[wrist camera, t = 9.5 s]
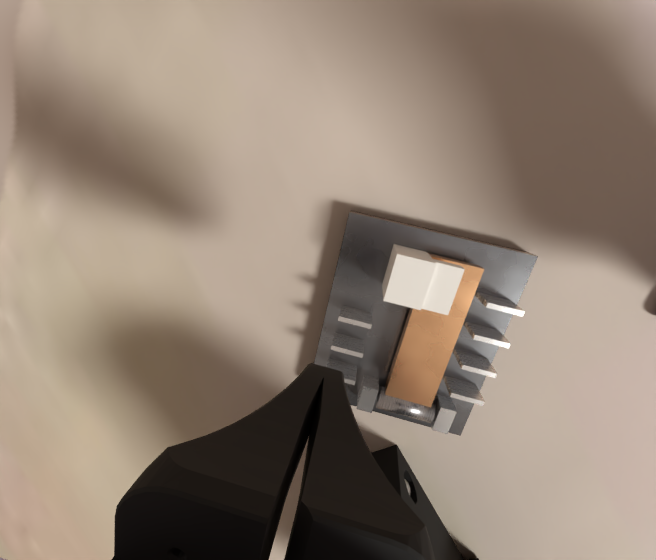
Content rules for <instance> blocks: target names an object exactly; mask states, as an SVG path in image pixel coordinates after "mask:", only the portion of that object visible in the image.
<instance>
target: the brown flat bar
mask: <svg viewBox="0 0 656 560" xmlns="http://www.w3.org/2000/svg"><path fill="white" fill-rule="evenodd" d="M428 254H429V255H430V256H431V257H432V259H436V260H440V261H444V262H448V263H452V264H456V265H460V266H462V267H463V268H464V269H465V270H464V273H463V276H462V278H461V281H460V284H459V287H458V289H457V292H456V295H455V298H454V300H453V303H452V306H451V309H450V311H449V314H448V315H444V314H441V313H437V312H433V311H429V310H425V309H421V310H417V309H413V308H410V310H409V313H408V316H407V319H406V323H405V326H404V329H403V332H402V335H401V338H400V341H399V344H398V347H397V350H396V353H395V357H394V360H393V363H392V366H391V369H390V372H389V375H388V378H387V381H386V384H385V387H382V386H380V387H379V391H378V394H377V397H376V402H375V407H376V408H379V409H382V410H386V411H389V412H393V413H396V414H400V415H404V416H407V417H411V418H414V419H418V420H421V421H425V422H429V423H431V422H432V421H433V419H434V416H435V410H436V406H435V402H434V398H435V396H436V393H437V390H438V388H439V385H440V383H441V380H442V377H443V375H444V372H445V370H446V367H447V365H448V362H449V359H450V357H451V354H452V352H453V349H454V346H455V344H456V341H457V339H458V336H459V333H460V331H461V328H462V326H463V323H464V321H465V318H466V315H467V313H468V310H469V308H470V305H471V302H472V300H473V297H474V295H475V292H476V290H477V287H478V284H479V282H480V279H481V277H482V274H483V271H484V268H482V267H481V266H480V265H476V264H471V263H467V262H463V261H459V260H455V259H451V258H446V257H442V256H438V255H434V254H430V253H428Z"/></svg>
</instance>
